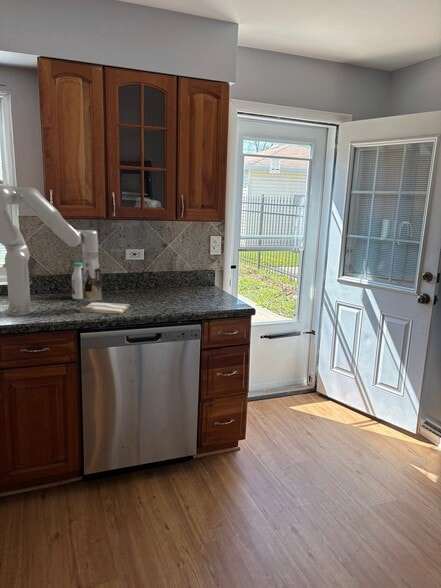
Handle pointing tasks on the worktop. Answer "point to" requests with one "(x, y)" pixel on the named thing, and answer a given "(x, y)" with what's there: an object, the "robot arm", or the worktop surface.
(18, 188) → the robot arm
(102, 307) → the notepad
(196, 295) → the worktop surface
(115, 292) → the worktop surface
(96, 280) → the coffee box
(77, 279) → the milk bottle
